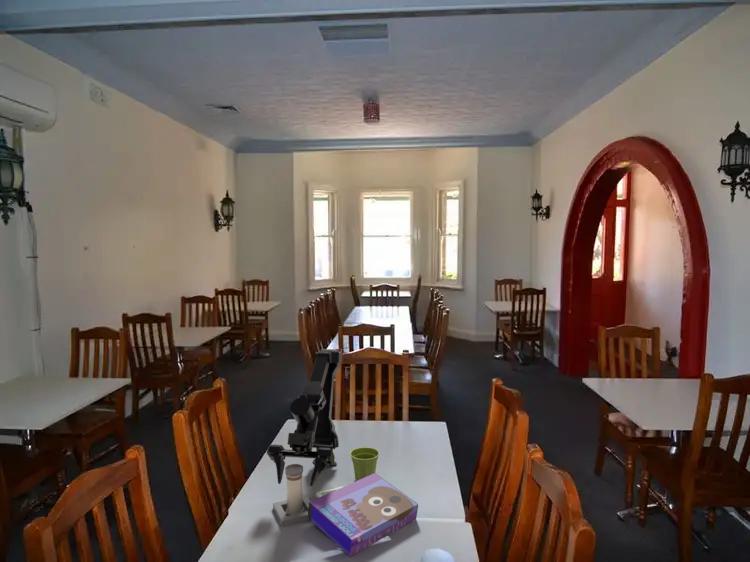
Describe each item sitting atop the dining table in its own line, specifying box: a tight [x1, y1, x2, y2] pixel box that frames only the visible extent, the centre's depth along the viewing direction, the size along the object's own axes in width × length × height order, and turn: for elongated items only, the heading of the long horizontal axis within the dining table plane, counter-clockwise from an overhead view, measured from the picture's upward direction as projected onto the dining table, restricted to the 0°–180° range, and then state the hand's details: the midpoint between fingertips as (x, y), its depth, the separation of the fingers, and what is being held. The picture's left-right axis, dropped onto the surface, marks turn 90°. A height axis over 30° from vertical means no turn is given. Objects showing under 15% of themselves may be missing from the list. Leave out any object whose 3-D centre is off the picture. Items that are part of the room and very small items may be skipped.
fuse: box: [284, 463, 304, 516], centre depth 145 cm, size 5×5×13 cm
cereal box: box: [308, 472, 419, 557], centre depth 141 cm, size 17×5×24 cm
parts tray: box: [315, 485, 345, 499], centre depth 152 cm, size 10×10×2 cm
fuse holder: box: [272, 495, 311, 527], centre depth 146 cm, size 10×10×2 cm
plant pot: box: [349, 446, 380, 482], centre depth 167 cm, size 9×9×9 cm
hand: (295, 484), depth 145 cm, fingers open, 9 cm apart
